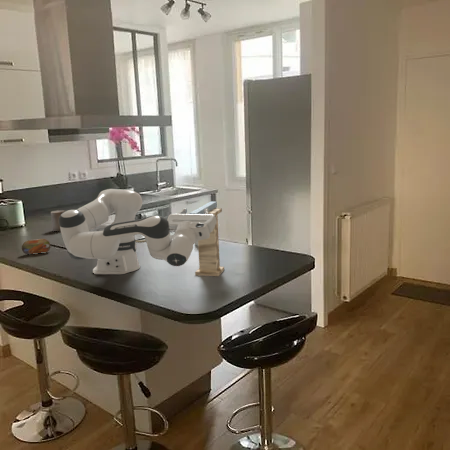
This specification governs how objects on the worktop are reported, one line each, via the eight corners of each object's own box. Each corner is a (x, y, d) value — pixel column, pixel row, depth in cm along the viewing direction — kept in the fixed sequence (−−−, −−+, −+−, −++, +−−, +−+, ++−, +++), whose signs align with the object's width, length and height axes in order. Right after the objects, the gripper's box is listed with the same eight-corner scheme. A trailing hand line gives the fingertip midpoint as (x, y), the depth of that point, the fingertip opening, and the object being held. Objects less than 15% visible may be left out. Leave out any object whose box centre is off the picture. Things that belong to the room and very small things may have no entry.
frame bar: (196, 219, 191) (196, 213, 190) (189, 218, 191) (189, 213, 191) (216, 206, 219) (216, 201, 218) (210, 206, 220) (210, 201, 219)
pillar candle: (70, 229, 329) (67, 208, 326) (62, 231, 320) (59, 210, 317) (57, 229, 331) (55, 208, 328) (49, 231, 322) (47, 210, 319)
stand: (217, 277, 207) (214, 213, 201) (193, 276, 210) (190, 213, 204) (225, 268, 220) (222, 208, 214) (203, 267, 223) (200, 208, 217)
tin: (22, 256, 259) (20, 241, 258) (23, 254, 262) (21, 240, 261) (51, 252, 264) (49, 238, 262) (51, 251, 267) (49, 237, 265)
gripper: (164, 237, 189) (174, 215, 199) (212, 238, 184) (220, 215, 193) (160, 225, 185) (170, 203, 195) (209, 226, 179) (217, 203, 189)
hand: (195, 209), depth 194 cm, fingers open, 8 cm apart
